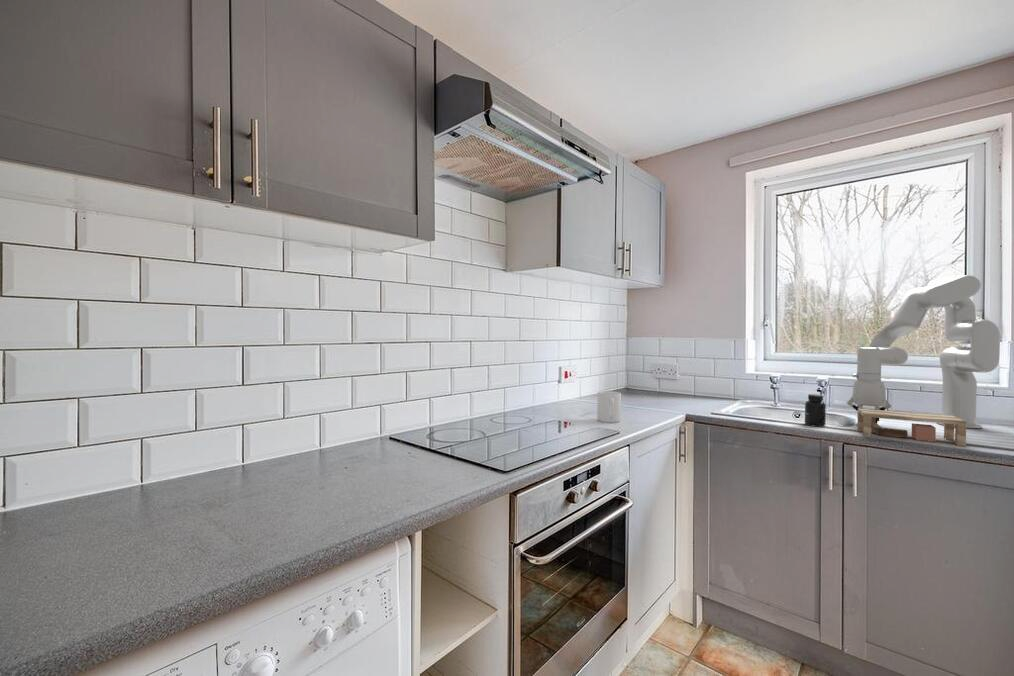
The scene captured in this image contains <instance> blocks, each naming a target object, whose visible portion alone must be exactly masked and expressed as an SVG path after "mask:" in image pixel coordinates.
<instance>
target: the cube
mask: <svg viewBox="0 0 1014 676" xmlns="http://www.w3.org/2000/svg"><path fill="white" fill-rule="evenodd" d="M936 429H937V428H936V426H934V425H932V424H926V423H925V424H923V423H913V422H912V423H911V436H912V437H913V438H915V439H918V440H917V441H920V440H930V441H935V442H936V440H937V439H936V433H937V432H936ZM912 437H911V438H912ZM913 438H912V439H913ZM915 439H914V440H915ZM930 441H929V442H930Z"/></svg>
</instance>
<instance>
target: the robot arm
mask: <svg viewBox="0 0 1014 676" xmlns="http://www.w3.org/2000/svg"><path fill="white" fill-rule="evenodd" d="M981 286H982V285H981V281H980V279H979V278H977V277H976V276H973V275H970V274H966V275H965V274H964V275H962V274H961V275H956V276H947V277H940V278H937V279H933V280H931V281H930V282H929V283H928V284H927V286H923V287H917V288H916V287H915V288H913V289H910V290H909V291H907V293H905V295H904V297H903V299H902V301H901V304H900V305H899V307H898V308H897V310H896V313H895V314H894V317H893V318H892V320H891V321H890V322H889V323H887V324H886V325H885V326H884V327H883V328H881V329H880V330H879V331H878V332H877V333H876V334H875V335H874V337H873V338H872V340H871V342H870V343H869V346H861V347H858V349H857V353H856V354H857V360H856V362H857V363H856V365H857V366H856V373H852V378H854V379H855V378H856V379H855V380H854V383H853V387H852V396H851V397H850V398H849V399H848V400H847V401H846V404H847V405H848V406H850V407H852V408H853V409H854V410H855V411H857V412H858V409H862V408H864V407H863V406H866V407H874V408H873V409H874V410H884V411H886V410H888V409H890V408H892V406H891V404H890V402H889V401H888V400H887V398H886V394H887V393H886V386H885V382H884V381H882V366H884V365H885V366H890V367H891V366H894V367H896V366H902V365H903V364H905V363H906V362H907V361H908V358H909V355H908V353H907V351H906V350H905V349H903V348H901V347H897V346H892V344H893V343H894V342H895V341H896V340H898V339H900V338H901V337H903V336H906V335H909V334H910V333H913V332H915V331H917V330H918V329H919V328H920V326H921V325H922V323H923V321H924V319H925V317H926V314H927V313H928V311H929V309H937V308H944V315H945V316H944V319H945V320H944V321H945V322H944V334H945V335H944V336H945V339H946V341H948V342H950V343H953V344H962V345H963V344H965V345H970V347H969V346H953V347H948V348H945V349H944V350H943V351H942V352H941V353H940V354H939V364H940V368H941V371H942V372H941V373H942V374H941V375H942V389H941V390H942V395H941V396H942V397H941V415H952V416H955V417H957V418H959V419H962V420H964V421H966V429H981V428H982V426H983V425H982V424H980V423H978V422H977V389H978V387H977V386H978V385H977V384H978V382H977V378H976V377H975V375H974V373H990V372H993V371H994V370H996V369H997V367H998V365H999V363H1000V356H1001V355H1000V354H1001V351H1000V350H1001V334H1000V329H999V327H998V326H997V325H996V323H995V322H993V321H991V320H989V319H982V318H981V319H980V318H979V319H977V316H976V315H977V312H976V305H975V303H974V302H973V299H971V297H973V296H975V295H976V294H977V293H978V292H979V291H980V289H981ZM857 420H858V414H857ZM878 422H880V418H876V423H877V424H878ZM937 424H938V425H941V426H944V423H937ZM954 428H955V424H954Z"/></svg>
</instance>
